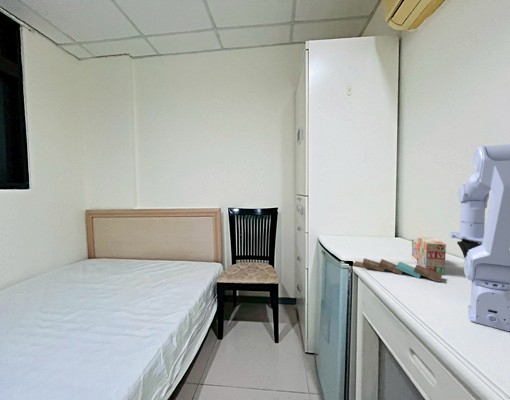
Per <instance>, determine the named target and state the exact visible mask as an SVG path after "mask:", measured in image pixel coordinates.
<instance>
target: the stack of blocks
mask: <svg viewBox="0 0 510 400" xmlns="http://www.w3.org/2000/svg"><path fill="white" fill-rule="evenodd" d="M446 248H447V245H446V243H444V242H443V241H441V240H440V239H438V238H436V237H432V236H431V237H430V236H427V237H426V236H417V239H414V238H411V253H412V254H411V257H412V256H413V257H414V258H415V259H416V260H417V263H418V264H417V263H416V264H417V265H419V266H422V267H424V268H427V269H429V270H432V271H434V272H437V273H439V274H441V275H442V276H445V274H446V272H445V271H446V250H447V249H446Z"/></svg>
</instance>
